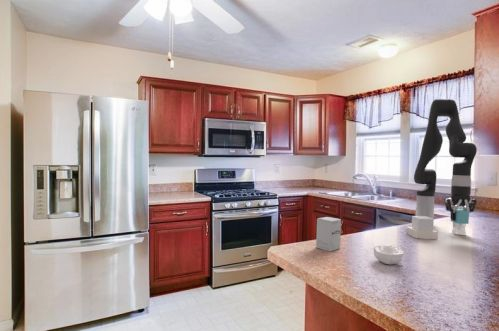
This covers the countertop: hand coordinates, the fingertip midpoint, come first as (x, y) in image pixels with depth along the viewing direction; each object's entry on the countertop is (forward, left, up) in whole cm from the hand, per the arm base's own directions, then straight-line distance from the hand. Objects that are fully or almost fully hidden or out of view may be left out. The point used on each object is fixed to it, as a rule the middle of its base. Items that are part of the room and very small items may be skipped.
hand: (459, 220), depth 141 cm
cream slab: (-8, -13, -10) cm, 19 cm away
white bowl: (+33, -48, -10) cm, 59 cm away
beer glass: (-15, +10, -10) cm, 20 cm away
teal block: (0, 0, -1) cm, 1 cm away
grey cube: (-8, -13, -6) cm, 16 cm away
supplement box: (+17, -66, -10) cm, 69 cm away
